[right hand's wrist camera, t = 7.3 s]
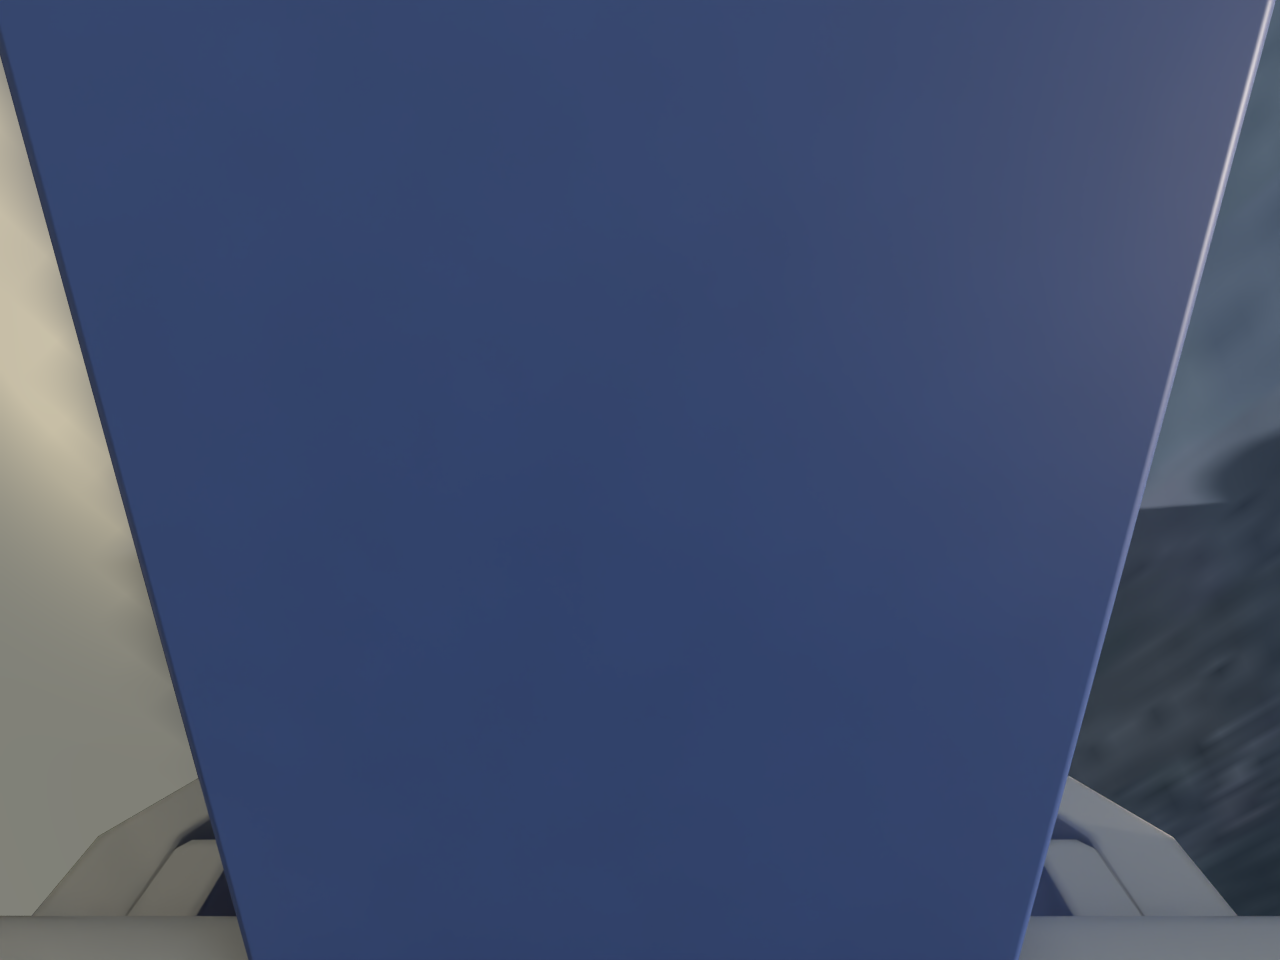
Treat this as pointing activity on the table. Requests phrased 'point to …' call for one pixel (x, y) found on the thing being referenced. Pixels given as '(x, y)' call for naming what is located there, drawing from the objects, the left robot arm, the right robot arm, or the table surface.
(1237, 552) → the table surface
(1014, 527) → the bar
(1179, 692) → the table surface
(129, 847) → the right robot arm
